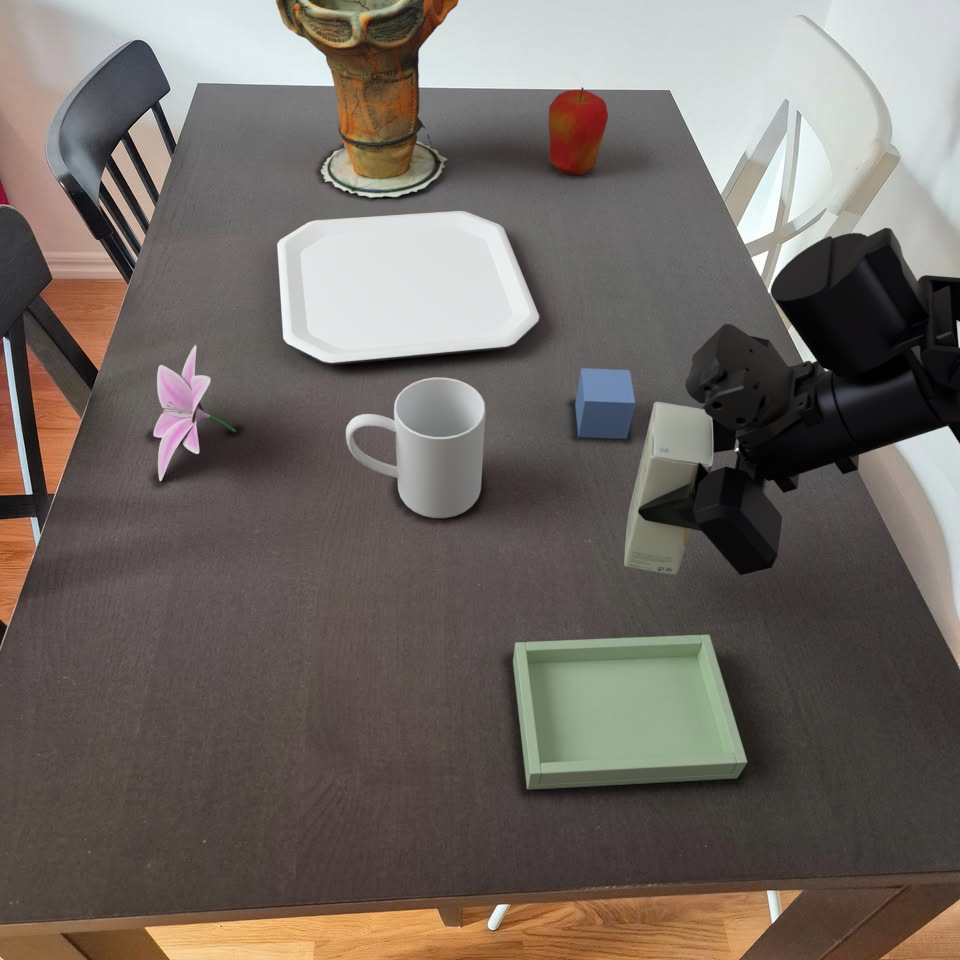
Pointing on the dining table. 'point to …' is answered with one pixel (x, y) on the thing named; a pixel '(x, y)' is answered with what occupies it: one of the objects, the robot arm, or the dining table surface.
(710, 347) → the robot arm
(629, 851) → the dining table surface
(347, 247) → the plate
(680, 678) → the sage tray
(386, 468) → the mug
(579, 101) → the apple
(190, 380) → the lily
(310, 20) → the decorative vase
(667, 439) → the cosmetic box
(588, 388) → the blue block
